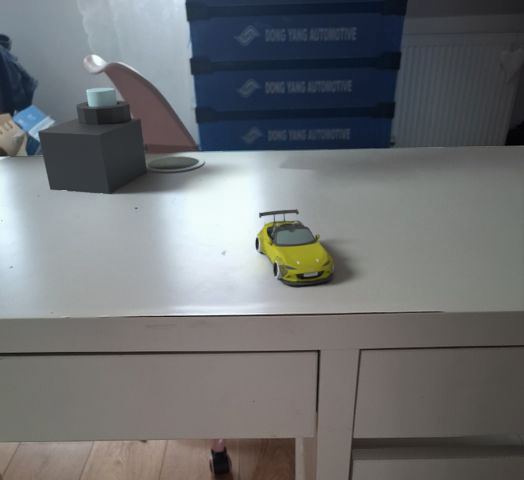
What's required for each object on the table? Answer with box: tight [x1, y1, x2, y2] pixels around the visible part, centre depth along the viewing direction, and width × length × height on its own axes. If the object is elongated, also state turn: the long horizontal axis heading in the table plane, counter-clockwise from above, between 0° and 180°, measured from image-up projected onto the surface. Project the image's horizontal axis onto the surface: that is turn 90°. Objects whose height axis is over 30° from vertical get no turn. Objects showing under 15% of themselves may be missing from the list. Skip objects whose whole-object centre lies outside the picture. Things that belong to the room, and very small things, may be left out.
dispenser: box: [37, 99, 148, 195], centre depth 68 cm, size 11×8×8 cm
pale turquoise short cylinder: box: [86, 87, 118, 107], centre depth 68 cm, size 3×3×2 cm
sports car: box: [254, 208, 335, 287], centre depth 47 cm, size 5×10×3 cm, turn 14°
